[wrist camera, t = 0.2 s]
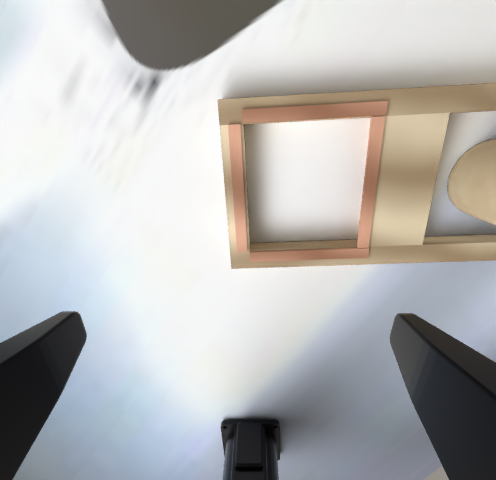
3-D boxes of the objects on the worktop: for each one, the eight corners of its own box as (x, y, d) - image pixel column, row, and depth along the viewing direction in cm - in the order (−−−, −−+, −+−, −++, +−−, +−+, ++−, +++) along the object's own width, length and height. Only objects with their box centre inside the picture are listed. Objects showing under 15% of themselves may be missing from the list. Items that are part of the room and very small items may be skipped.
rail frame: (542, 249, 22) (564, 259, 20) (232, 260, 23) (231, 269, 21) (608, 78, 17) (644, 73, 16) (220, 101, 18) (217, 99, 17)
